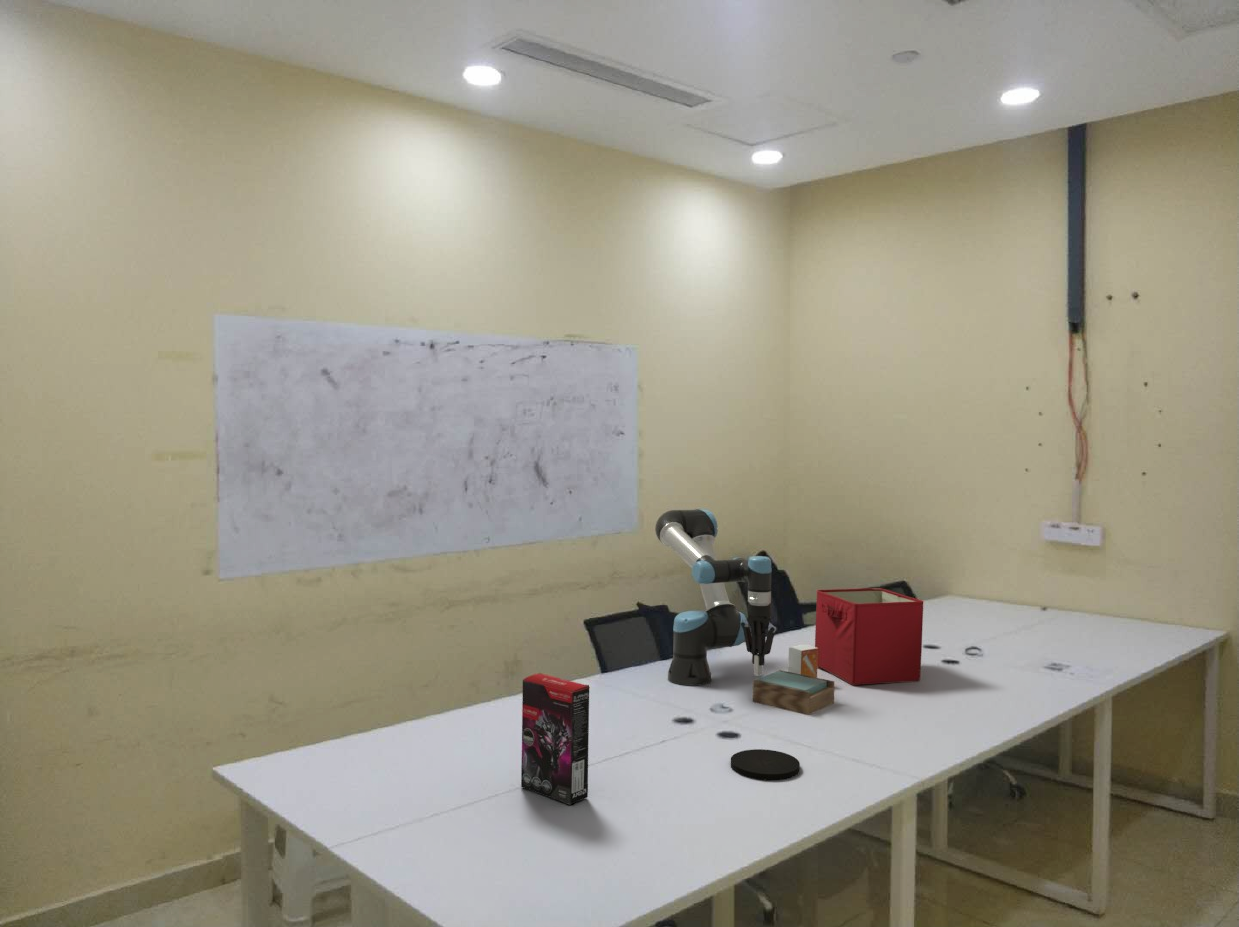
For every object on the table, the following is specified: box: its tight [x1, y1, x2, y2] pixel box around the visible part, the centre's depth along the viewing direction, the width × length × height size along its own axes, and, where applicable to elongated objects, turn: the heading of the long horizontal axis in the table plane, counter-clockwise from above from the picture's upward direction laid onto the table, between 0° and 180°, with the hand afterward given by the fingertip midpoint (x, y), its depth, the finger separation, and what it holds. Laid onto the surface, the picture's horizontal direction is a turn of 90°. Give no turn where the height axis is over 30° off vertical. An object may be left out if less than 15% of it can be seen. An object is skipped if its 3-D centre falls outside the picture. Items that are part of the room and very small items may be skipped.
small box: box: [787, 643, 818, 678], centre depth 321 cm, size 8×6×13 cm
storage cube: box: [814, 587, 924, 686], centre depth 336 cm, size 32×28×29 cm
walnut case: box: [752, 669, 835, 716], centre depth 301 cm, size 20×17×7 cm
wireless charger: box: [730, 748, 801, 782], centre depth 243 cm, size 18×18×2 cm
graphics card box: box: [520, 673, 590, 805], centre depth 224 cm, size 17×7×27 cm, turn 51°
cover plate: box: [755, 670, 827, 694], centre depth 301 cm, size 18×14×2 cm
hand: (758, 674), depth 309 cm, fingers closed
